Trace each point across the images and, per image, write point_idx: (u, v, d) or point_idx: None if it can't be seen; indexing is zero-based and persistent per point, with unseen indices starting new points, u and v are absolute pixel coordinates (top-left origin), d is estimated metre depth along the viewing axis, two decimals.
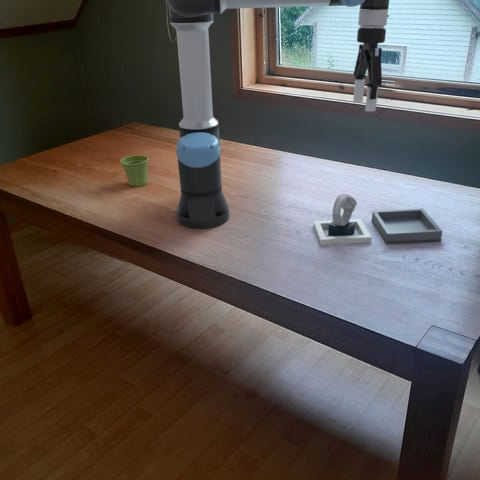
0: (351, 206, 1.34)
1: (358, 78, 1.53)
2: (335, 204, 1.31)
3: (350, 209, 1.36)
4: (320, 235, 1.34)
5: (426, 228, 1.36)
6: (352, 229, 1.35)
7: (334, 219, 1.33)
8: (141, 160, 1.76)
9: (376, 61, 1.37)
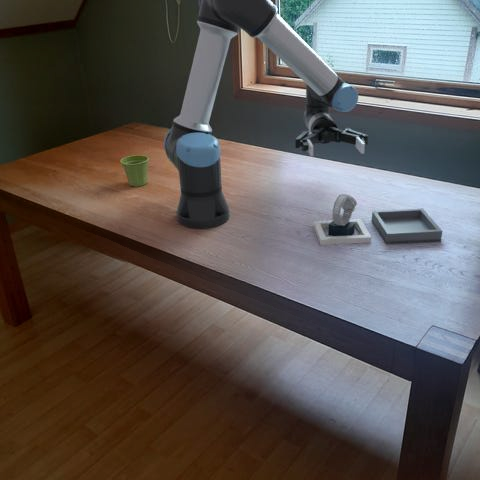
0: (351, 206, 1.34)
1: None
2: (335, 204, 1.31)
3: (350, 209, 1.36)
4: (320, 235, 1.34)
5: (426, 228, 1.36)
6: (352, 229, 1.35)
7: (334, 219, 1.33)
8: (141, 160, 1.76)
9: None
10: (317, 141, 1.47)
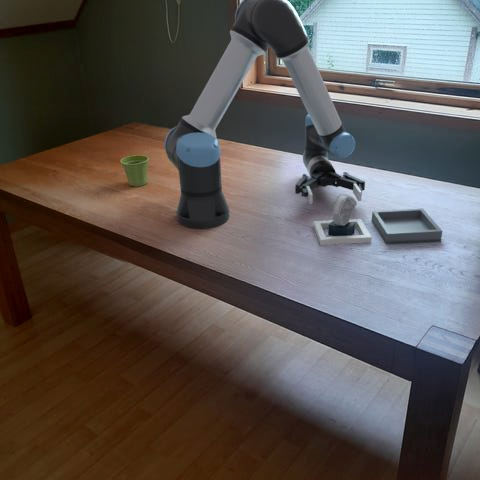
0: (351, 206, 1.34)
1: None
2: (335, 204, 1.31)
3: (350, 209, 1.36)
4: (320, 235, 1.34)
5: (426, 228, 1.36)
6: (352, 229, 1.35)
7: (334, 219, 1.33)
8: (141, 160, 1.76)
9: None
10: (316, 186, 1.53)
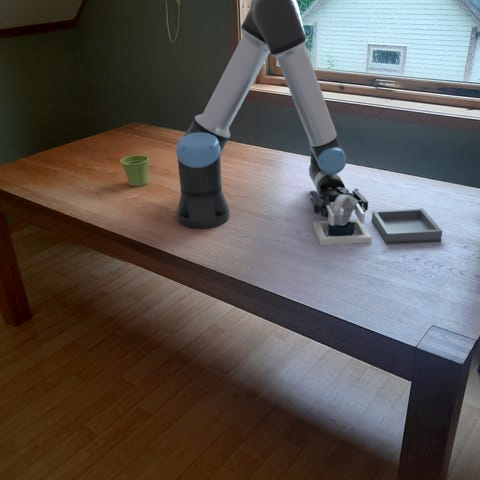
0: (351, 206, 1.34)
1: None
2: (334, 204, 1.31)
3: (350, 209, 1.36)
4: (320, 235, 1.34)
5: (426, 228, 1.36)
6: (352, 229, 1.35)
7: (334, 219, 1.32)
8: (141, 160, 1.76)
9: None
10: (329, 203, 1.41)
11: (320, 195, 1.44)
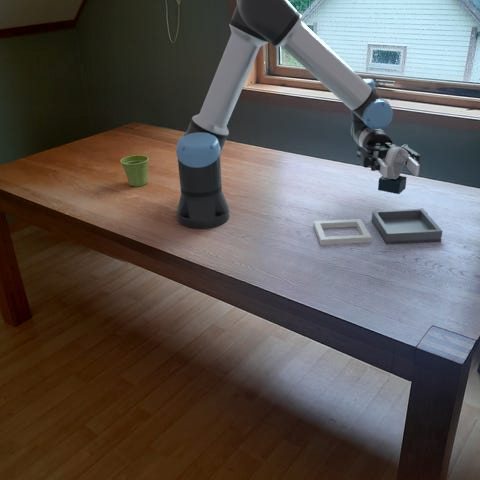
0: (403, 159, 1.29)
1: None
2: (387, 156, 1.25)
3: (401, 162, 1.30)
4: (320, 235, 1.34)
5: (426, 228, 1.36)
6: (403, 183, 1.30)
7: None
8: (141, 160, 1.76)
9: None
10: None
11: (367, 151, 1.39)
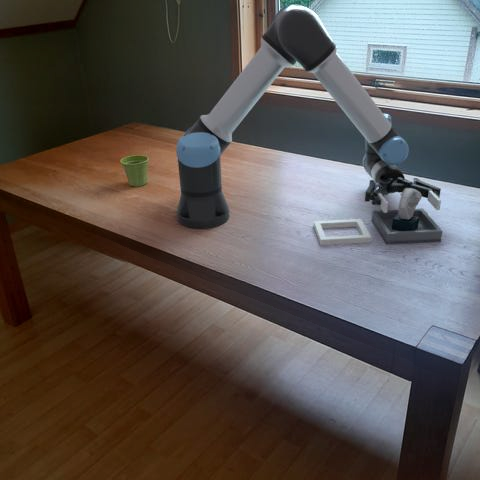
0: (416, 200, 1.34)
1: None
2: (402, 198, 1.31)
3: (414, 203, 1.36)
4: (320, 235, 1.34)
5: (426, 228, 1.36)
6: (416, 223, 1.35)
7: (400, 213, 1.32)
8: (141, 160, 1.76)
9: None
10: (386, 193, 1.41)
11: (379, 185, 1.44)
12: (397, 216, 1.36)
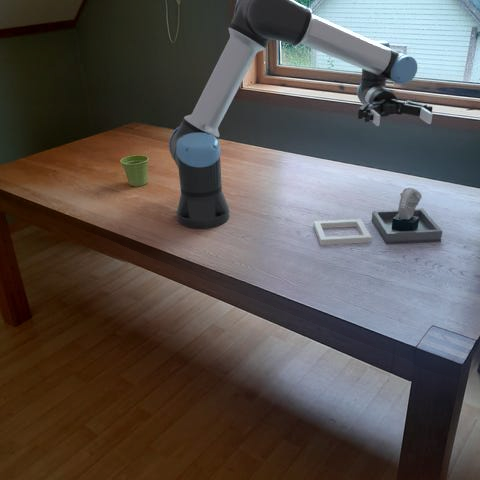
0: (416, 200, 1.34)
1: None
2: (402, 198, 1.31)
3: (414, 203, 1.36)
4: (320, 235, 1.34)
5: (426, 228, 1.36)
6: (416, 223, 1.35)
7: (400, 213, 1.32)
8: (141, 160, 1.76)
9: None
10: (379, 113, 1.44)
11: None
12: (397, 216, 1.36)
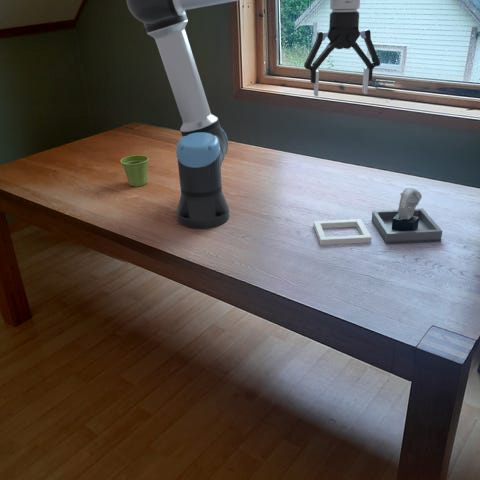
0: (416, 200, 1.34)
1: (367, 67, 1.40)
2: (402, 198, 1.31)
3: (414, 203, 1.36)
4: (320, 235, 1.34)
5: (426, 228, 1.36)
6: (416, 223, 1.35)
7: (400, 213, 1.32)
8: (141, 160, 1.76)
9: (314, 45, 1.37)
10: (355, 50, 1.37)
11: (358, 35, 1.36)
12: (397, 216, 1.36)
